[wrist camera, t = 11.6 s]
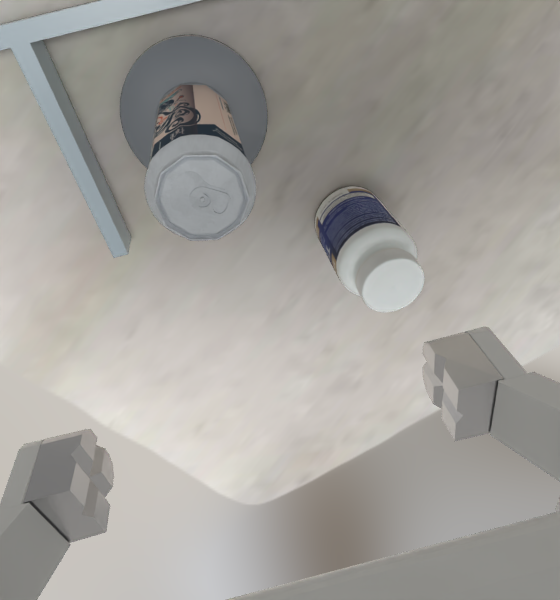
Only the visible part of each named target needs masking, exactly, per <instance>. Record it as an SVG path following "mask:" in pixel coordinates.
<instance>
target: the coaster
mask: <svg viewBox="0 0 560 600" xmlns="http://www.w3.org/2000/svg"><path fill="white" fill-rule="evenodd" d="M186 83H200V84H203V85H207V86H209V87H211V88H213V89H214V90H216V91H217V92H218V93H220V94H221V96H222V97H223V98H224V99H225V100H226V101H227V103H228V105H229V107H230V109H231V112H232V115H233V119H234V124H235V127H236V130H237V133H238V135H239V138H240V141H241V144H242V147H243V150H244V153H245V155H246V158H247V160H248V161H249V163H250V165H251V164H252V162H253V161H254V159H255V158H256V157H257V155H258V153H259V151H260V149H261V147H262V144H263V142H264V138H265V134H266V130H267V106H266V100H265V96H264V93H263V90H262V88H261V85H260V83H259V81H258V79H257V77H256V75H255V74H254V72H253V71H252V69H251V68H250V67H249V65H248V64H247V63H246V62H245V61H244V59H243V58H242V57H241V56H240V55H239V54H237V53H236V52H235V51H234V50H232V49H231V48H230V47H228V46H226V45H225V44H223V43H221V42H219V41H216V40H214V39H211V38H208V37H204V36H198V35H180V36H174V37H170V38H167V39H164V40H162V41H160V42H158V43H156V44H154V45H152V46H151V47H150V48H148V49H147V50H146V51H145V52H144V53H143V54H142V55H141V56H140V57H139V58H138V59H137V60H136V62H135V63H134V64H133V66H132V68H131V69H130V71H129V73H128V75H127V77H126V80H125V83H124V85H123V89H122V93H121V99H120V117H121V123H122V128H123V131H124V134H125V137H126V139H127V141H128V144H129V146H130V148H131V149H132V151H133V152H134V154H135V155H136V157H137V158H138V159H139V160H140V162H141V163H142V164H143V165H144V166H145V167H146V168H147V169H148V166H149V160H150V154H151V147H152V141H153V134H154V128H155V117H156V111H157V108H158V105H159V102H160V100H161V99H162V98H163V97H164V95H165V94H166V93H167V92H168V91H170V90H171V89H173V88H174V87H176V86H178V85H181V84H186Z"/></svg>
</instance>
